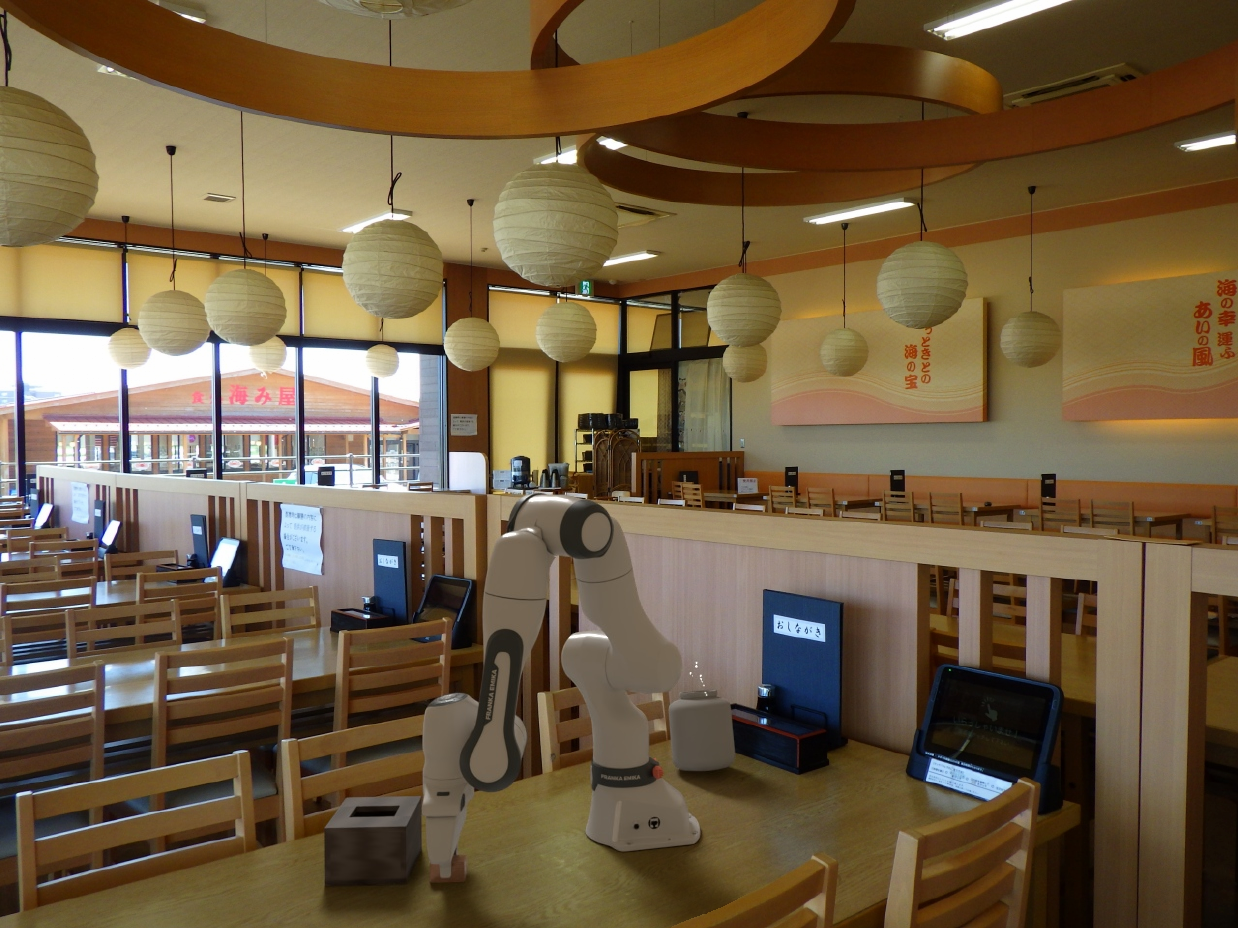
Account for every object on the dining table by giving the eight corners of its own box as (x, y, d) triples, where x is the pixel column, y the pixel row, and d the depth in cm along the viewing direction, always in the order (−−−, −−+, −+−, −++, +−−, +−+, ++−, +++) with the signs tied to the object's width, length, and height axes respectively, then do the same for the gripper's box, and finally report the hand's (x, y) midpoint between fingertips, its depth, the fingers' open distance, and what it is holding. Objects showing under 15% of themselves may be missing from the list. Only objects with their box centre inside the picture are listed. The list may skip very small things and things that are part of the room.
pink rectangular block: (466, 874, 157) (466, 854, 157) (464, 882, 154) (464, 862, 154) (432, 875, 156) (432, 855, 156) (429, 883, 153) (429, 863, 153)
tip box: (421, 848, 167) (421, 795, 167) (406, 883, 153) (406, 826, 153) (346, 850, 166) (346, 797, 166) (324, 885, 152) (324, 827, 152)
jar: (657, 759, 217) (656, 657, 217) (713, 753, 221) (712, 653, 221) (686, 785, 199) (685, 674, 199) (745, 778, 203) (745, 669, 203)
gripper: (440, 767, 165) (440, 841, 165) (419, 810, 145) (420, 895, 145) (474, 767, 165) (474, 841, 165) (458, 809, 145) (459, 894, 145)
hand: (449, 866), depth 155 cm, fingers open, 5 cm apart
